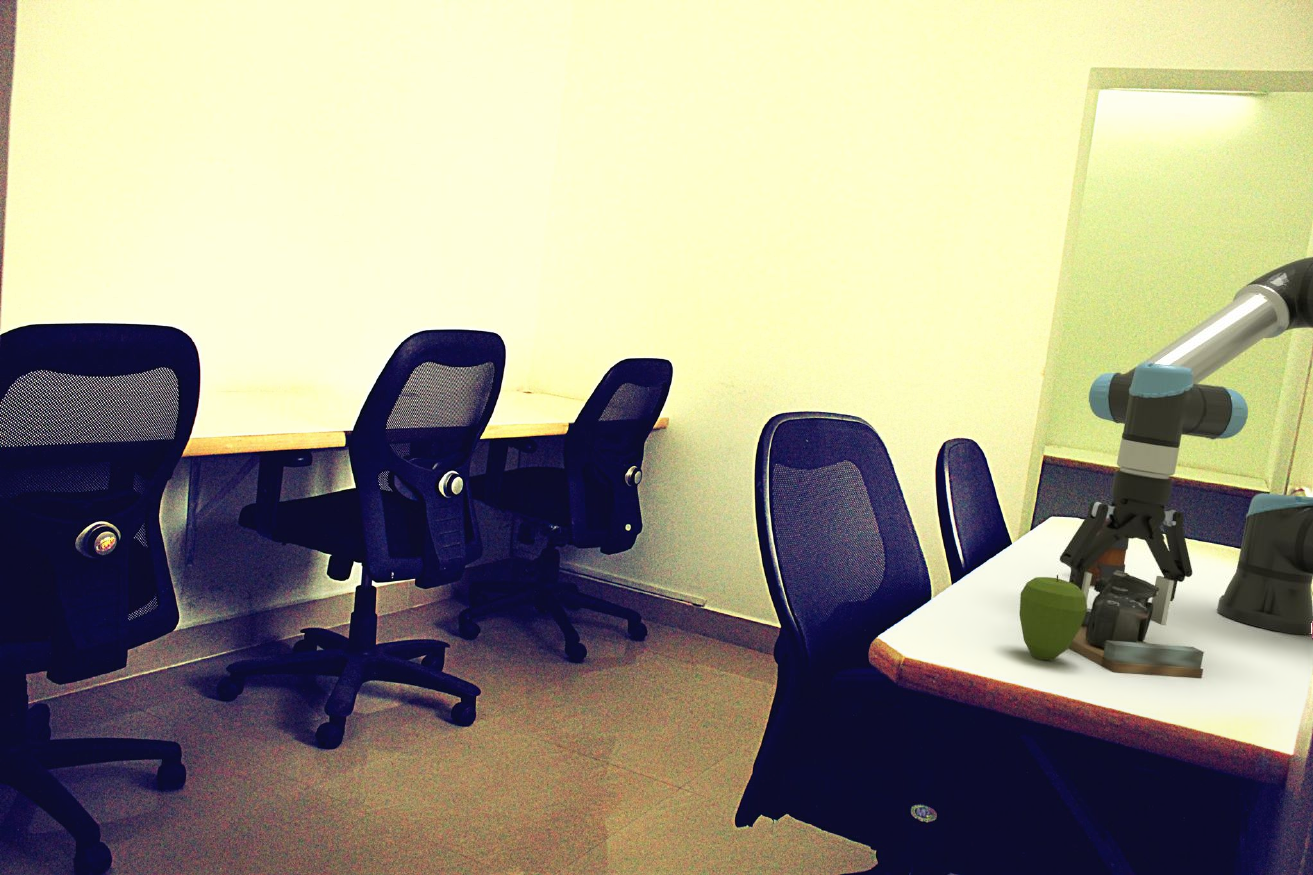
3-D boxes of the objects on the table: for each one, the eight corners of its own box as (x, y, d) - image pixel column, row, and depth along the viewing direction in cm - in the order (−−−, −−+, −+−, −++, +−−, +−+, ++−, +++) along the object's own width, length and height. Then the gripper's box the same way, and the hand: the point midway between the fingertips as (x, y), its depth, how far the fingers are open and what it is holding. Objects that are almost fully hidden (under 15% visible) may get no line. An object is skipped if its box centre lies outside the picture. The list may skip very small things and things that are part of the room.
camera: (1164, 662, 144) (1178, 591, 143) (1089, 648, 146) (1102, 578, 144) (1135, 635, 157) (1148, 570, 156) (1066, 624, 159) (1078, 559, 158)
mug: (1062, 581, 199) (1073, 520, 198) (1081, 575, 209) (1092, 517, 207) (1109, 593, 194) (1121, 531, 193) (1127, 586, 203) (1138, 527, 202)
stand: (1106, 631, 163) (1110, 609, 162) (1201, 677, 144) (1206, 652, 143) (1027, 625, 159) (1031, 602, 159) (1113, 671, 140) (1118, 646, 140)
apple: (1077, 674, 136) (1093, 587, 135) (1009, 658, 139) (1024, 573, 138) (1075, 657, 145) (1090, 575, 143) (1011, 643, 147) (1025, 562, 146)
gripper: (1199, 477, 155) (1171, 616, 158) (1051, 459, 149) (1024, 605, 152) (1237, 486, 148) (1208, 632, 151) (1084, 468, 142) (1056, 621, 144)
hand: (1116, 619), depth 151 cm, fingers open, 13 cm apart
